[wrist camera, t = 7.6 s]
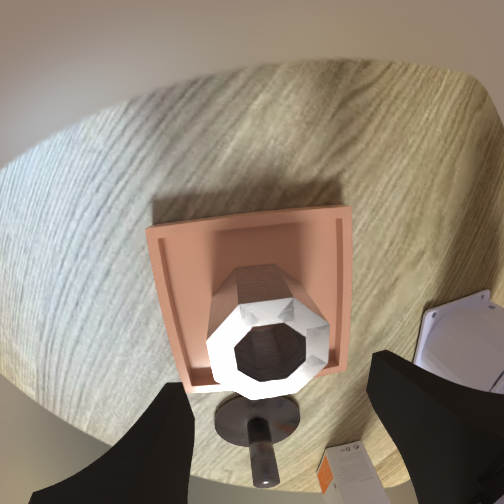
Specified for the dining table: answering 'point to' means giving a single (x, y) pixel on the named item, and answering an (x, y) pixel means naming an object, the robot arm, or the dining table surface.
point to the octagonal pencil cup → (265, 333)
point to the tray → (248, 254)
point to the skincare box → (350, 476)
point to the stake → (258, 431)
